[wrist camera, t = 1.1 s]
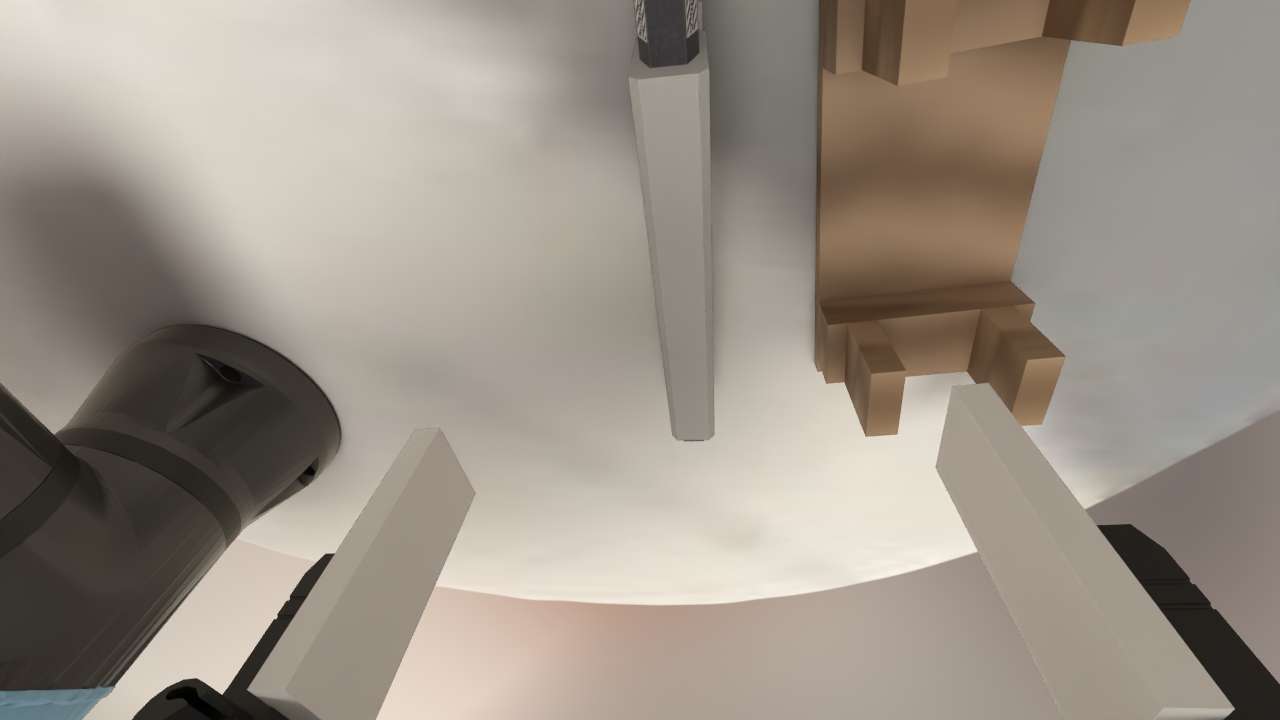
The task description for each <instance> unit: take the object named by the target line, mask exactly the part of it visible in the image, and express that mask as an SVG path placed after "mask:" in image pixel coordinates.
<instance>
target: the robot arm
mask: <svg viewBox="0 0 1280 720" xmlns="http://www.w3.org/2000/svg"><path fill="white" fill-rule="evenodd" d="M339 443H340V430H339V425H338V422H337V419H336V416H335V414H334V412H333V410H332V408H331V406H330V404H329V403H328V401H327V400H326V398H325V397H324V396H323V394H322V393H321V392H320V391H319V389H318V388H317V387H316V386H315V385H314V384H313V383H312V382H311V381H310V380H309V379H308V378H307V377H306V376H305V375H304V374H303V373H302V372H301V371H300V370H298V369H297V368H296V367H295V366H293V365H292V364H291V363H289V362H288V361H287V360H285V359H284V358H282V357H281V356H279V355H278V354H276V353H274V352H273V351H271V350H269V349H268V348H266V347H264V346H262V345H260V344H258V343H256V342H254V341H252V340H249V339H247V338H245V337H242V336H240V335H237V334H234V333H231V332H228V331H224V330H221V329H216V328H212V327H206V326H198V325H177V326H171V327H166V328H163V329H160V330H157V331H155V332H154V333H152V334H150V335H149V336H147V337H145V338H144V339H142V340H141V341H139V342H137V343H136V344H134V345H133V346H131V347H130V348H128V349H127V350H125V351H124V352H123V353H122V354H121V355H120V356H119V357H118V358H117V359H116V360H115V362H114V363H113V364H112V366H111V367H110V368H109V369H108V371H107V372H106V373H105V375H104V376H103V378H102V379H101V380H100V382H99V383H98V384H97V386H96V387H95V388H94V390H93V391H92V392H91V394H90V395H89V396H88V398H87V399H86V400H85V402H84V403H83V404H82V406H81V407H80V408H79V410H78V411H77V412H76V414H75V415H74V417H73V418H72V419H71V421H70V422H69V423H68V424H67V425H66V426H65V427H64V428H63V429H61V430H60V431H59V432H57V433H56V434H52V433H51V432H50V431H49V430H48V429H47V428H46V427H45V426H44V425H43V424H42V423H41V422H40V421H39V420H38V419H37V418H36V417H35V416H34V415H33V414H32V413H31V412H30V411H29V410H28V409H27V408H26V407H25V406H24V405H23V404H22V403H21V402H20V401H19V400H18V399H16V398H15V397H14V396H13V395H12V394H11V393H10V392H9V391H8V390H7V389H6V388H5V387H4V386H3V385H2V384H1V383H0V720H82V719H83V718H84V717H85V716H86V715H87V714H88V713H89V711H90V710H91V709H92V708H93V707H94V706H95V705H96V704H97V703H98V702H99V700H100V699H102V698H104V697H106V696H108V695H109V694H110V693H111V692H112V690H113V689H114V688H115V685H116V683H117V682H118V681H119V680H120V678H121V677H122V676H123V675H124V674H125V672H126V671H127V670H128V669H129V668H130V666H131V665H132V664H133V663H134V661H135V660H136V659H137V658H138V656H139V655H140V654H141V653H142V652H143V650H144V649H145V648H146V647H147V646H148V644H149V643H150V642H151V641H152V639H153V638H154V637H155V636H156V634H157V633H158V632H159V631H160V630H161V628H162V627H163V626H164V625H165V624H166V622H167V621H168V620H169V619H170V618H171V616H172V615H173V614H174V613H175V611H176V610H177V609H178V608H179V607H180V605H181V604H182V603H183V602H184V600H185V599H186V598H187V597H188V595H189V594H190V593H191V592H192V591H193V589H194V588H195V587H196V586H197V585H198V583H199V582H200V581H201V580H202V578H203V577H204V576H205V575H206V573H207V572H208V571H209V570H210V569H211V567H212V566H213V565H214V564H215V563H216V561H217V560H218V559H219V558H220V556H221V555H222V554H223V552H224V551H225V550H226V549H227V548H228V547H229V545H230V544H231V543H232V542H233V541H234V540H235V538H236V537H237V536H238V535H239V534H240V533H241V532H242V530H243V529H244V528H246V527H247V526H248V525H250V524H251V523H253V522H254V521H256V520H257V519H259V518H260V517H262V516H263V515H264V514H266V513H267V512H269V511H270V510H272V509H273V508H275V507H276V506H278V505H279V504H281V503H282V502H284V501H285V500H287V499H288V498H290V497H291V496H293V495H294V494H296V493H297V492H299V491H300V490H302V489H303V488H305V487H306V486H308V485H309V484H310V483H312V482H313V481H314V480H315V479H316V478H317V477H318V476H319V475H320V474H321V473H322V471H323V470H324V469H325V468H326V466H327V465H328V464H329V462H330V461H331V460H332V459H333V457H334V456H335V454H336V452H337V450H338V447H339ZM936 469H937V471H938V473H939V475H940V477H941V479H942V481H943V483H944V485H945V487H946V489H947V491H948V493H949V495H950V497H951V499H952V501H953V503H954V505H955V507H956V509H957V511H958V513H959V515H960V517H961V519H962V521H963V523H964V525H965V527H966V528H967V530H968V532H969V534H970V536H971V538H972V540H973V542H974V544H975V546H976V548H977V550H978V552H979V554H980V556H981V558H982V560H983V562H984V564H985V566H986V568H987V570H988V572H989V574H990V575H991V578H992V580H993V582H994V584H995V586H996V587H997V589H998V591H999V593H1000V595H1001V597H1002V599H1003V601H1004V603H1005V605H1006V607H1007V609H1008V611H1009V613H1010V615H1011V617H1012V619H1013V621H1014V623H1015V625H1016V627H1017V629H1018V631H1019V633H1020V635H1021V637H1022V638H1023V640H1024V643H1025V645H1026V647H1027V648H1028V650H1029V652H1030V654H1031V656H1032V658H1033V660H1034V662H1035V664H1036V666H1037V668H1038V670H1039V672H1040V674H1041V676H1042V678H1043V680H1044V682H1045V684H1046V686H1047V688H1048V690H1049V692H1050V694H1051V696H1052V697H1053V700H1054V702H1055V703H1056V706H1057V708H1058V709H1059V711H1060V713H1061V715H1062V717H1063V719H1064V720H1280V684H1279V683H1278V682H1277V681H1276V679H1274V677H1273V676H1272V675H1271V674H1270V672H1269V671H1268V670H1267V669H1266V668H1265V666H1264V665H1263V664H1262V663H1261V662H1260V660H1259V659H1258V658H1257V657H1256V656H1255V655H1254V653H1253V652H1252V651H1251V650H1250V649H1249V648H1248V646H1247V645H1246V644H1245V643H1244V642H1243V640H1242V639H1241V638H1240V637H1239V636H1238V635H1237V633H1236V632H1235V631H1234V630H1233V629H1232V627H1231V626H1230V625H1229V624H1228V623H1227V622H1226V620H1225V619H1224V618H1223V617H1222V616H1221V614H1220V613H1219V612H1218V611H1217V610H1216V609H1213V608H1212V607H1211V605H1210V604H1211V603H1210V602H1209V600H1208V599H1207V598H1206V597H1205V596H1204V594H1203V593H1202V592H1201V591H1200V590H1199V589H1198V587H1197V586H1196V585H1195V584H1192V583H1191V582H1190V578H1189V577H1188V576H1187V574H1186V573H1185V572H1184V571H1183V570H1182V568H1181V567H1180V566H1179V565H1178V564H1177V563H1176V562H1175V560H1174V559H1173V558H1172V557H1171V556H1170V555H1169V553H1168V552H1167V551H1166V550H1165V549H1164V548H1163V547H1161V546H1160V545H1159V544H1157V543H1156V542H1155V541H1153V540H1152V539H1150V538H1149V537H1148V536H1146V535H1145V534H1143V533H1142V532H1141V531H1139V530H1138V529H1136V528H1135V527H1134V526H1132V525H1131V524H1126V525H1125V524H1123V525H1096V524H1095V523H1094V522H1093V520H1092V519H1091V518H1090V517H1089V515H1088V514H1087V513H1086V511H1085V510H1084V509H1083V507H1082V506H1081V505H1080V503H1079V502H1078V501H1077V499H1076V498H1075V497H1074V495H1073V494H1072V493H1071V491H1070V490H1069V489H1068V487H1067V486H1066V485H1065V483H1064V482H1063V481H1062V479H1061V478H1060V477H1059V475H1058V474H1057V473H1056V472H1055V470H1054V469H1053V468H1052V466H1051V465H1050V464H1049V462H1048V461H1047V460H1046V458H1045V457H1044V456H1043V454H1042V453H1041V452H1040V450H1039V449H1038V448H1037V446H1036V445H1035V444H1034V442H1033V441H1032V440H1031V438H1030V437H1029V436H1028V434H1027V433H1026V432H1025V431H1024V429H1023V428H1022V427H1021V425H1020V424H1019V423H1018V421H1017V420H1016V419H1015V417H1014V416H1013V415H1012V413H1011V412H1010V411H1009V409H1008V408H1007V407H1006V405H1005V404H1004V403H1003V401H1002V400H1001V399H1000V397H999V396H998V395H997V393H996V392H995V391H994V390H993V388H992V387H991V386H990V384H989V383H982V384H970V385H957V386H952V390H951V395H950V400H949V405H948V410H947V415H946V420H945V424H944V429H943V434H942V439H941V444H940V449H939V454H938V459H937V463H936ZM475 494H476V493H475V491H474V489H473V487H472V486H471V484H470V482H469V480H468V478H467V476H466V475H465V473H464V471H463V469H462V467H461V465H460V464H459V462H458V460H457V458H456V456H455V454H454V452H453V451H452V449H451V447H450V445H449V443H448V441H447V440H446V438H445V436H444V434H443V432H442V430H441V428H428V429H416V430H415V431H414V432H413V434H412V435H411V437H410V438H409V440H408V441H407V443H406V445H405V446H404V448H403V449H402V451H401V452H400V454H399V455H398V457H397V459H396V460H395V462H394V463H393V465H392V466H391V468H390V469H389V471H388V472H387V474H386V476H385V477H384V479H383V480H382V482H381V483H380V485H379V486H378V488H377V489H376V491H375V493H374V494H373V496H372V497H371V499H370V500H369V502H368V503H367V505H366V506H365V508H364V510H363V511H362V513H361V514H360V516H359V517H358V519H357V520H356V522H355V523H354V525H353V527H352V528H351V530H350V531H349V533H348V534H347V536H346V537H345V539H344V541H343V542H342V544H341V545H340V547H339V548H338V550H337V551H336V553H334V554H325V555H324V556H323V557H322V558H321V559H320V560H319V561H318V562H317V563H316V564H315V565H314V566H312V567H311V569H309V570H308V571H307V572H306V573H305V575H304V576H303V577H302V579H301V580H300V582H299V584H298V585H297V586H296V588H295V589H294V591H293V592H292V594H291V595H290V600H289V601H286V603H285V604H284V606H283V607H282V609H281V610H280V611H279V613H278V614H277V615H278V617H277V619H274V620H273V622H272V623H271V625H270V626H269V628H268V629H267V631H266V632H265V634H264V635H263V637H262V638H261V639H260V641H259V642H258V644H257V646H256V647H255V648H254V650H253V651H252V653H251V654H250V656H249V657H248V659H247V660H246V662H245V663H244V665H243V666H242V668H241V669H240V671H239V672H238V674H237V675H236V676H235V678H234V680H233V681H232V683H231V684H230V685H229V687H228V688H227V689H226V691H225V692H224V693H223V695H221V694H220V693H218V692H217V691H215V690H214V689H213V688H211V687H210V686H208V685H207V684H206V683H204V682H202V681H200V680H199V679H197V678H195V679H187V680H182V681H180V682H178V683H175V684H173V685H171V686H169V687H167V688H166V689H164V690H163V691H162V692H160V693H159V694H157V695H156V696H155V697H153V698H152V699H151V700H150V701H149V702H148V703H147V704H146V705H145V706H144V707H143V708H142V709H141V710H140V711H139V712H138V713H137V714H136V715H135V716H134V718H133V719H132V720H376V718H377V715H378V713H379V711H380V709H381V706H382V704H383V702H384V700H385V697H386V695H387V693H388V691H389V688H390V686H391V684H392V682H393V679H394V677H395V675H396V672H397V670H398V668H399V666H400V663H401V661H402V659H403V657H404V654H405V652H406V650H407V648H408V645H409V643H410V640H411V639H412V636H413V634H414V632H415V629H416V627H417V625H418V623H419V620H420V618H421V616H422V613H423V611H424V609H425V607H426V605H427V602H428V600H429V598H430V596H431V593H432V591H433V589H434V586H435V584H436V582H437V580H438V577H439V575H440V573H441V571H442V568H443V566H444V564H445V562H446V559H447V557H448V555H449V553H450V550H451V548H452V546H453V543H454V541H455V539H456V537H457V534H458V532H459V530H460V528H461V525H462V523H463V521H464V519H465V516H466V514H467V512H468V510H469V507H470V505H471V503H472V500H473V498H474V496H475Z"/></svg>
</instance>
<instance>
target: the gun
mask: <svg viewBox="0 0 1280 720" xmlns="http://www.w3.org/2000/svg"><path fill="white" fill-rule="evenodd" d="M634 10H635V19H636V29H637V38H636V41H635V46H634V51H633V56H632V61H631V67H630V72H629V77H628V79H629V88H630V96H631V104H632V112H633V120H634V128H635V136H636V144H637V153H638V161H639V169H640V177H641V185H642V193H643V201H644V209H645V217H646V226H647V234H648V242H649V250H650V258H651V266H652V274H653V282H654V290H655V299H656V307H657V315H658V323H659V331H660V339H661V347H662V355H663V364H664V372H665V380H666V388H667V396H668V404H669V412H670V420H671V428H672V436H674V437H675V438H676V439H677V440H683V441H704V440H709V439H710V438H712V437H713V436H714V374H713V301H712V229H711V156H710V83H709V60H708V48H707V36H706V31H703V19H702V0H634Z"/></svg>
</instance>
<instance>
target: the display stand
mask: <svg viewBox="0 0 1280 720" xmlns="http://www.w3.org/2000/svg"><path fill="white" fill-rule="evenodd" d="M1190 1H1191V0H819V65H818V141H817V216H816V291H815V365H816V368H817V371H818V372H820V371H822V372H823V375H824V378H825V381H826V384H828V383H839V382H845V385H846V387H847V390H848V393H849V395H850V398H851V400H852V403H853V405H854V408H855V410H856V413H857V415H858V418H859V421H860V423H861V426H862V428H863V431H864V433H865V436H866V437H867V436H881V435H896V434H897V433H898V426H899V419H900V412H901V405H902V398H903V390H904V383H905V377H908V376H920V375H931V374H942V373H954V372H965V371H967V372H968V373H969V375H970V376H971V377H972V379H973V380H974V382H975V383H976V384H982V383H989V384H990V386H991V387H992V388H993V390H994V391H995V392H996V393H997V395H998V396H999V397H1000V399H1001V400H1002V401H1003V403H1004V404H1005V405H1006V407H1007V408H1008V409H1009V411H1010V412H1011V413H1012V415H1013V416H1014V417H1015V419H1016V420H1017V421H1018V423H1019V424H1020V425H1021V426H1026V425H1040V424H1042V423H1043V420H1044V417H1045V415H1046V412H1047V409H1048V406H1049V403H1050V400H1051V397H1052V395H1053V392H1054V389H1055V386H1056V383H1057V380H1058V377H1059V375H1060V372H1061V369H1062V366H1063V363H1064V360H1065V358H1066V356H1065V355H1064V354H1063V353H1062V352H1061V351H1060V350H1059V349H1058V348H1057V347H1056V346H1055V345H1053V344H1052V343H1051V342H1050V341H1049V340H1048V339H1047V338H1046V337H1045V336H1044V335H1043V334H1042V333H1041V332H1040V331H1039V330H1038V329H1037V328H1036V327H1035V326H1034V325H1033V324H1032V323H1031V322H1030V320H1031V316H1032V313H1033V309H1034V306H1035V303H1034V302H1033V301H1032V300H1031V299H1030V298H1029V297H1028V296H1027V295H1025V294H1024V293H1023V292H1022V291H1021V290H1020V289H1019V288H1018V287H1017V286H1015V285H1014V284H1013V283H1012V282H1011V281H1010V280H1011V276H1012V272H1013V268H1014V264H1015V260H1016V256H1017V252H1018V248H1019V244H1020V240H1021V236H1022V232H1023V228H1024V224H1025V220H1026V216H1027V212H1028V208H1029V204H1030V200H1031V196H1032V192H1033V188H1034V184H1035V180H1036V176H1037V172H1038V168H1039V164H1040V160H1041V156H1042V152H1043V148H1044V144H1045V140H1046V136H1047V132H1048V128H1049V124H1050V120H1051V116H1052V112H1053V108H1054V105H1055V101H1056V97H1057V93H1058V89H1059V85H1060V81H1061V77H1062V73H1063V69H1064V65H1065V61H1066V57H1067V53H1068V49H1069V45H1070V41H1071V40H1076V41H1084V42H1093V43H1102V44H1110V45H1119V46H1124V45H1130V44H1136V43H1141V42H1147V41H1152V40H1158V39H1163V38H1169V37H1175V36H1179V33H1180V30H1181V27H1182V24H1183V21H1184V19H1185V16H1186V13H1187V10H1188V7H1189V4H1190Z"/></svg>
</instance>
